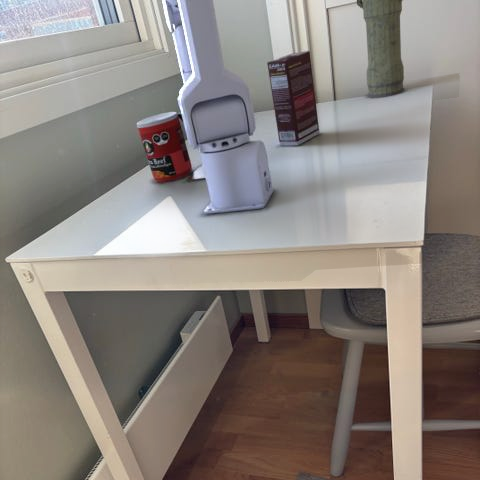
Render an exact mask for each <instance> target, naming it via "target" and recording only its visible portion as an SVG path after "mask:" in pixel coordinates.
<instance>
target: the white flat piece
mask: <svg viewBox="0 0 480 480" xmlns="http://www.w3.org/2000/svg"><path fill="white" fill-rule="evenodd" d="M202 180H206V177H205V173H204V168H203V164H202V163H201V165H200V166H198V168H197V169H196V170H195V171H193V173H191V175H189V176H188V177H187V179H186V180H185V181H186V182H194V181H195V182H196V181H202Z"/></svg>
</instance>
